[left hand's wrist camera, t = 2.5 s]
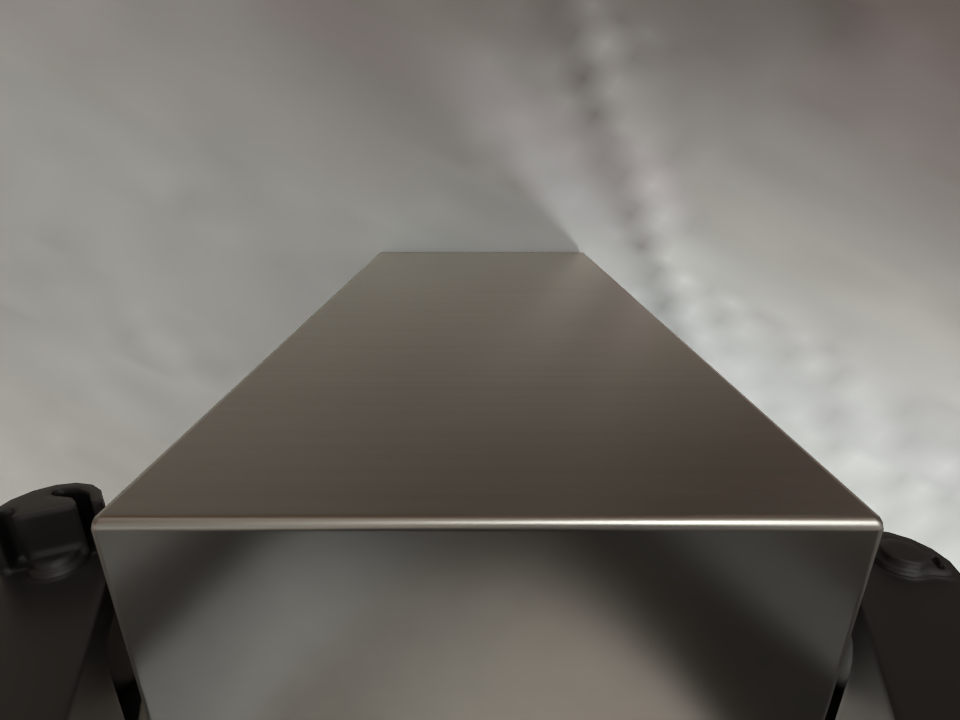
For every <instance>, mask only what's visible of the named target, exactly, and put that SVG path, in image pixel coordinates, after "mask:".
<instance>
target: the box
mask: <svg viewBox="0 0 960 720" xmlns="http://www.w3.org/2000/svg"><path fill="white" fill-rule="evenodd" d="M883 530H884V529H883V522H882V520H881V518H880V517H879V516H878V515H877V514H876V513H875V512H874V511H873V510H871V509H870V508H869V507H868V506H867V505H866V504H865V503H864V502H862V501H861V500H860V499H859V498H858V497H857V496H856V495H855V494H853V493H852V492H851V491H850V490H849V489H848V488H847V487H846V486H844V485H843V484H842V483H841V482H840V481H839V480H838V479H837V478H836V477H834V476H833V475H832V474H831V473H830V472H829V471H828V470H827V469H825V468H824V467H823V466H822V465H821V464H820V463H819V462H818V461H816V460H815V459H814V458H813V457H812V456H811V455H810V454H809V453H807V452H806V451H805V450H804V449H803V448H802V447H801V446H800V445H799V444H797V443H796V442H795V441H794V440H793V439H792V438H791V437H790V436H788V435H787V434H786V433H785V432H784V431H783V430H782V429H781V428H779V427H778V426H777V425H776V424H775V423H774V422H773V421H772V420H770V419H769V418H768V417H767V416H766V415H765V414H764V413H763V412H761V411H760V410H759V409H758V408H757V407H756V406H755V405H754V404H753V403H751V402H750V401H749V400H748V399H747V398H746V397H745V396H744V395H742V394H741V393H740V392H739V391H738V390H737V389H736V388H735V387H733V386H732V385H731V384H730V383H729V382H728V381H727V380H726V379H724V378H723V377H722V376H721V375H720V374H719V373H718V372H717V371H716V370H714V369H713V368H712V367H711V366H710V365H709V364H708V363H707V362H705V361H704V360H703V359H702V358H701V357H700V356H699V355H698V354H696V353H695V352H694V351H693V350H692V349H691V348H690V347H689V346H687V345H686V344H685V343H684V342H683V341H682V340H681V339H680V338H678V337H677V336H676V335H675V334H674V333H673V332H672V331H671V330H670V329H668V328H667V327H666V326H665V325H664V324H663V323H662V322H661V321H659V320H658V319H657V318H656V317H655V316H654V315H653V314H652V313H650V312H649V311H648V310H647V309H646V308H645V307H644V306H643V305H641V304H640V303H639V302H638V301H637V300H636V299H635V298H634V297H632V296H631V295H630V294H629V293H628V292H627V291H626V290H625V289H624V288H622V287H621V286H620V285H619V284H618V283H617V282H616V281H615V280H613V279H612V278H611V277H610V276H609V275H608V274H607V273H606V272H604V271H603V270H602V269H601V268H600V267H599V266H598V265H597V264H595V263H594V262H593V261H592V260H591V259H590V258H589V257H588V256H587V255H585V254H584V253H582V252H382V253H380V254H378V255H377V256H376V257H375V258H374V259H373V260H372V261H371V262H370V263H369V264H368V265H367V266H366V267H364V268H363V269H362V270H361V271H360V272H359V273H358V274H357V275H356V276H355V277H354V278H353V279H351V280H350V281H349V282H348V283H347V284H346V285H345V286H344V287H343V288H342V289H341V290H340V291H338V292H337V293H336V294H335V295H334V296H333V297H332V298H331V299H330V300H329V301H328V302H327V303H325V304H324V305H323V306H322V307H321V308H320V309H319V310H318V311H317V312H316V313H315V314H314V315H313V316H311V317H310V318H309V319H308V320H307V321H306V322H305V323H304V324H303V325H302V326H301V327H300V328H298V329H297V330H296V331H295V332H294V333H293V334H292V335H291V336H290V337H289V338H288V339H287V340H285V341H284V342H283V343H282V344H281V345H280V346H279V347H278V348H277V349H276V350H275V351H274V352H272V353H271V354H270V355H269V356H268V357H267V358H266V359H265V360H264V361H263V362H262V363H261V364H260V365H258V366H257V367H256V368H255V369H254V370H253V371H252V372H251V373H250V374H249V375H248V376H247V377H245V378H244V379H243V380H242V381H241V382H240V383H239V384H238V385H237V386H236V387H235V388H234V389H232V390H231V391H230V392H229V393H228V394H227V395H226V396H225V397H224V398H223V399H222V400H221V401H219V402H218V403H217V404H216V405H215V406H214V407H213V408H212V409H211V410H210V411H209V412H208V413H207V414H205V415H204V416H203V417H202V418H201V419H200V420H199V421H198V422H197V423H196V424H195V425H194V426H192V427H191V428H190V429H189V430H188V431H187V432H186V433H185V434H184V435H183V436H182V437H181V438H179V439H178V440H177V441H176V442H175V443H174V444H173V445H172V446H171V447H170V448H169V449H168V450H166V451H165V452H164V453H163V454H162V455H161V456H160V457H159V458H158V459H157V460H156V461H155V462H153V463H152V464H151V465H150V466H149V467H148V468H147V469H146V470H145V471H144V472H143V473H142V474H141V475H139V476H138V477H137V478H136V479H135V480H134V481H133V482H132V483H131V484H130V485H129V486H128V487H126V488H125V489H124V490H123V491H122V492H121V493H120V494H119V495H118V496H117V497H116V498H115V499H113V500H112V501H111V502H110V503H109V504H108V505H107V506H106V507H105V508H104V509H103V510H102V511H100V512H99V513H98V514H97V515H96V516H95V517H94V519H93V521H92V525H91V531H92V535H93V538H94V541H95V545H96V548H97V551H98V555H99V558H100V561H101V565H102V568H103V571H104V575H105V578H106V582H107V585H108V588H109V592H110V595H111V598H112V602H113V605H114V608H115V612H116V615H117V618H118V622H119V625H120V629H121V632H122V635H123V639H124V642H125V645H126V649H127V652H128V655H129V659H130V662H131V665H132V669H133V672H134V676H135V679H136V682H137V686H138V689H139V692H140V696H141V699H142V702H143V706H144V709H145V712H146V716H147V719H148V720H825V717H826V714H827V711H828V708H829V704H830V701H831V698H832V695H833V691H834V688H835V685H836V682H837V679H838V675H839V672H840V669H841V666H842V662H843V659H844V656H845V653H846V649H847V646H848V643H849V640H850V637H851V633H852V630H853V627H854V624H855V620H856V617H857V614H858V611H859V607H860V604H861V601H862V598H863V594H864V591H865V588H866V585H867V582H868V578H869V575H870V572H871V569H872V565H873V562H874V559H875V556H876V552H877V549H878V546H879V543H880V539H881V536H882V533H883Z"/></svg>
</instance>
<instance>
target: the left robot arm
mask: <svg viewBox="0 0 960 720" xmlns="http://www.w3.org/2000/svg"><path fill="white" fill-rule="evenodd" d="M105 507H106V506H105V503H104V499H103V496H102V492H101V490H100V489H98V488H97V487H95V486H93V485H91V484H82V483H71V484H61V485H54V486H51V487H47V488H43V489H39V490H35V491H32V492H30V493H27V494H25V495H22V496H20V497H17V498H15V499H12V500H10V501H8V502H7V503H5V504H3V505H2V506H0V720H148V719H147V716H146V712H145V709H144V706H143V702H142V699H141V696H140V692H139V689H138V686H137V682H136V679H135V676H134V672H133V669H132V665H131V662H130V659H129V655H128V652H127V649H126V645H125V642H124V639H123V635H122V632H121V629H120V625H119V622H118V618H117V615H116V612H115V608H114V605H113V602H112V598H111V595H110V592H109V588H108V585H107V582H106V578H105V575H104V571H103V568H102V565H101V561H100V558H99V555H98V551H97V548H96V545H95V541H94V538H93V535H92V531H91V525H92V521H93V519H94V517H95V516H96V515H97V514H98V513H99V512H100V511H102V510H103V509H104V508H105ZM825 720H960V573H959V572H958V570H957V569H956V568H955V567H954V566H953V565H952V563H951V562H950V561H948V560H947V559H946V558H944V557H943V556H941V555H940V554H938V553H937V552H936V551H934V550H933V549H931V548H929V547H927V546H925V545H923V544H920V543H918V542H916V541H914V540H912V539H909V538H906V537H903V536H899V535H896V534H893V533H889V532H883V533H882V536H881V539H880V543H879V546H878V549H877V552H876V556H875V559H874V562H873V565H872V569H871V572H870V575H869V578H868V582H867V585H866V588H865V591H864V594H863V598H862V601H861V604H860V607H859V611H858V614H857V617H856V620H855V624H854V627H853V630H852V633H851V637H850V640H849V643H848V646H847V649H846V653H845V656H844V659H843V662H842V666H841V669H840V672H839V675H838V679H837V682H836V685H835V688H834V691H833V695H832V698H831V701H830V704H829V708H828V711H827V714H826V717H825Z"/></svg>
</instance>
